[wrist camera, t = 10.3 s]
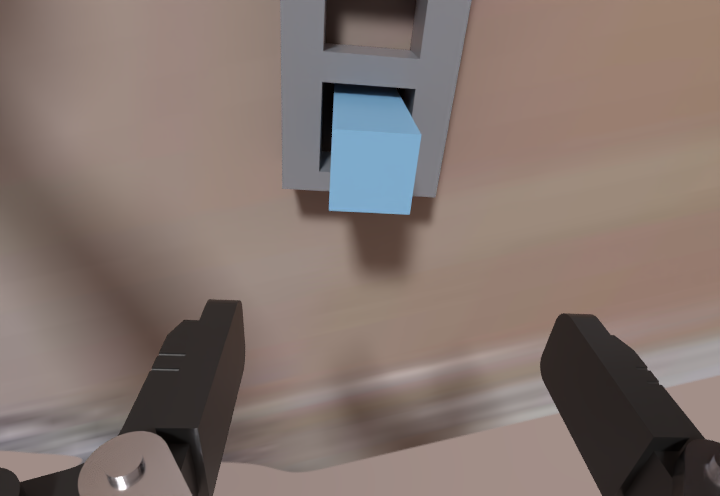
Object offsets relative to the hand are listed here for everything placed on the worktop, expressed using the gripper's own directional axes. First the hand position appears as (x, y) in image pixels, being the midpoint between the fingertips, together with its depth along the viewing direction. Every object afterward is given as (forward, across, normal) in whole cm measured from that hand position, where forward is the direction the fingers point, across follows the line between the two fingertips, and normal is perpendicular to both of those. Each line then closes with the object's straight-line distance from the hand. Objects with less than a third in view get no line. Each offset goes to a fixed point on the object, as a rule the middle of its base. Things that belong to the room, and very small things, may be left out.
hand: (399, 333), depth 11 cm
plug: (+22, 0, 0) cm, 22 cm away
